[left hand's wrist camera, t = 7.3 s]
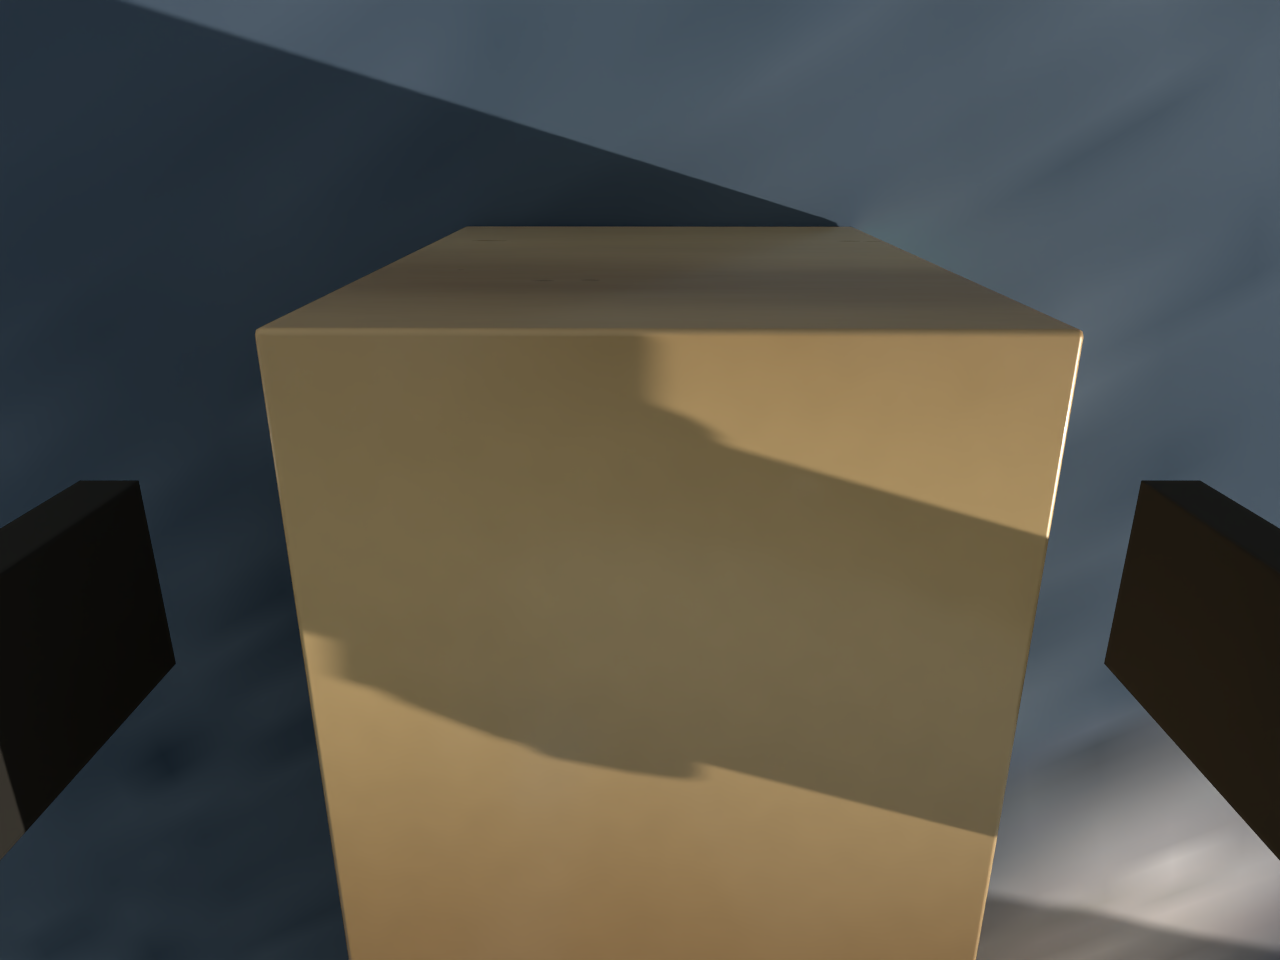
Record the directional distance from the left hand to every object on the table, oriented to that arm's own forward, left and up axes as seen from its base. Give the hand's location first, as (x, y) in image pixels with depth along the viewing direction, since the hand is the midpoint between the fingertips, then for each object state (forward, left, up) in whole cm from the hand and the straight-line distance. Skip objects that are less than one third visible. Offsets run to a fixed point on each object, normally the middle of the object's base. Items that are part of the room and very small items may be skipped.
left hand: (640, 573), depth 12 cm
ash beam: (+7, +12, -4) cm, 14 cm away
